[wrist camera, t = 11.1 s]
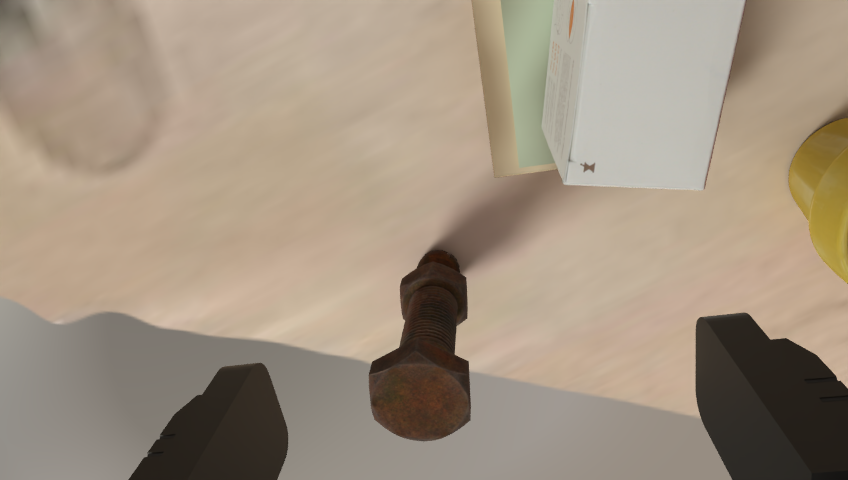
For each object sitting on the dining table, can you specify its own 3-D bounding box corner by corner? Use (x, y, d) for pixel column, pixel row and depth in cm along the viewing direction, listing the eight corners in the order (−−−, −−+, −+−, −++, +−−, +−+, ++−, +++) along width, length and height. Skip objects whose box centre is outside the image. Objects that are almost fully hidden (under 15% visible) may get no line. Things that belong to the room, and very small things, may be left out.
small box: (639, 132, 32) (706, 197, 23) (538, 128, 33) (561, 190, 23) (668, -27, 29) (759, -27, 19) (554, -29, 29) (589, -31, 20)
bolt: (389, 277, 44) (347, 414, 30) (418, 222, 42) (387, 343, 28) (458, 309, 44) (447, 457, 31) (490, 257, 42) (494, 391, 29)
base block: (680, -83, 32) (715, -93, 28) (679, 127, 37) (709, 150, 32) (467, -41, 34) (465, -44, 29) (493, 154, 39) (494, 179, 34)
